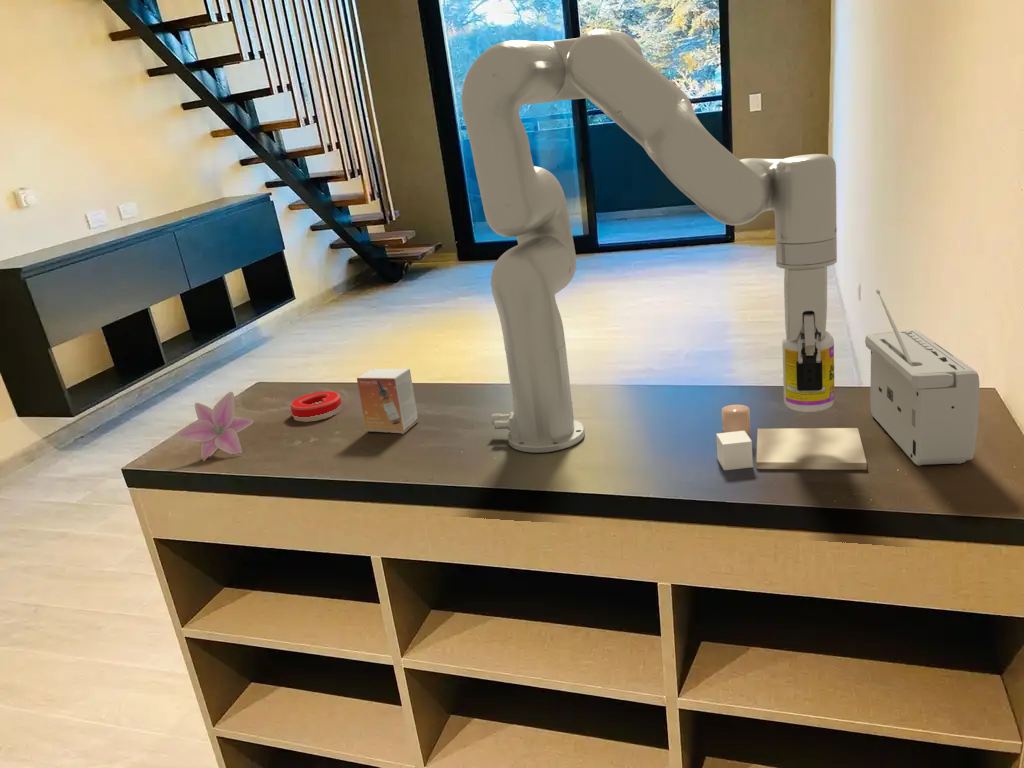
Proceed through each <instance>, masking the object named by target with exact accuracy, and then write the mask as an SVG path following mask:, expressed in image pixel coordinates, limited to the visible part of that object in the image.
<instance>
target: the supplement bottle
mask: <svg viewBox="0 0 1024 768" xmlns="http://www.w3.org/2000/svg"><path fill="white" fill-rule="evenodd" d="M813 315H814V312H813ZM803 323H804V318H803ZM800 335H801V334H800ZM801 339H805V338H804V336H801ZM815 339H816V335H815ZM797 341H798V338H797V340H793V341H792V343H789V342H788V341H787V340H786V334H785V335H784V336H783V338H782V341H781V343H782V345H781V346H782V374H783V375H782V381H783V382H782V383H783V403H784V405H785V406H786V407H787V408H788V409H791V410H793V411H798V412H805V413H806V412H807V413H810V412H820V411H824V410H827V409H829V408H831V407H832V406H833V405H834V403H835V340H834V337H833V335H832V334H831V333H830V332H828V331H827V330H826V333H825V339H824V340H822V341H820V360H821V361H822V387H823V388H822V390H819V391H798V390H797V370H796V362H798V344H797ZM803 347H805V345H802V348H803ZM815 347H816V346H815ZM802 358H803V354H802Z"/></svg>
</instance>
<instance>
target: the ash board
mask: <svg viewBox="0 0 1024 768" xmlns="http://www.w3.org/2000/svg"><path fill="white" fill-rule="evenodd" d="M756 437H757V438H756V439H757V440H756V460H755V461H756V469H757V470H839V471H840V470H842V471H843V470H846V471H847V470H849V471H851V470H854V471H855V470H857V471H861V470H862V471H865V470H868V468H867V467H868V466H867V458H866V455H865V451H864V447H863V443H862V439H861V436H860V432H859V428H858V427H818V428H817V427H815V428H811V427H810V428H809V427H808V428H807V427H806V428H799V427H798V428H794V427H793V428H787V427H785V428H784V427H783V428H757V435H756Z"/></svg>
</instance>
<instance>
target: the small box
mask: <svg viewBox="0 0 1024 768" xmlns="http://www.w3.org/2000/svg"><path fill="white" fill-rule="evenodd" d="M411 374H412V373H411V369H410V368H371V369H369V370H367V371H366V372H365V373H362V374H361V375H359V376H358V377H357V378H356V381H357V387H358V393H359V399H360V404H361V411H362V414H363V421H364V427H365V430H366V429H380V430H381V429H382V430H399V431H401V430H402V431H404V430H405V429H406V428H407V427H408V426H410V425H411V424H412V423H413V422H414V421H415V420H416V419H417V418H418V419H419V417H418V412H417V403H416V399H415V393H414V392H415V391H414V384H413V382H412V375H411Z"/></svg>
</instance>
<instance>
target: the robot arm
mask: <svg viewBox="0 0 1024 768" xmlns="http://www.w3.org/2000/svg"><path fill="white" fill-rule="evenodd" d="M581 99H588V100H589V102H591V103H592V104H593V105H594V106H595V107H597V109H599V110H600V111H601V112H603V113H604V114H605V115H606V116H607V117H608V118H609V119H610V120H612V121H613V122H614V123H615V124H616V125H617V126H619V127H620V129H622V130H623V131H624V132H626V133H627V134H628V135H629V136H630V137H631V138H632V139H634V141H635V142H636V143H638V144H639V145H640V146H641V148H643V149H644V151H645V152H646V154H647V155H648V157H649V158H650V159H651V160H652V161H653V162H654V164H655V165H657V167H658V168H659V169H660V170H661V172H662V173H663V174H664V175H665V176H666V178H667V179H668V180H669V181H670V182H671V183H672V184H673V185H674V186H675V187H676V188H677V189H678V190H679V191H680V192H682V193H683V195H685V196H686V197H687V198H688V199H690V200H691V201H692V202H693V203H694V204H695V205H697V206H698V207H699V208H700V209H701V210H702V211H703V212H705V213H706V214H707V215H708V216H710V217H711V218H712V219H714V220H716V221H718V222H720V223H721V224H724V225H729V226H742V225H745V224H748V223H750V222H752V221H753V220H755V219H756V218H757V217H759V215H761V214H763V213H764V212H769V211H773V212H774V232H775V233H774V234H775V236H774V237H775V263H776V264H775V265H776V267H777V268H779V269H783V270H784V275H783V293H784V294H783V295H784V321H785V322H784V325H785V328H784V329H785V335H786V340H787V341H788V342H789V343H792V341H793V340H797V338H798V341H797V344H798V362H796V370H797V390H798V391H819V390H822V388H823V387H822V361H821V360H820V341H822V340H824V339H825V333H826V331H827V315H828V267H829V266H833V265H835V264H836V263H837V262H838V260H837V259H838V257H837V255H838V253H837V252H838V251H837V249H838V248H837V245H838V243H837V242H838V241H837V240H838V239H837V238H838V237H837V232H838V231H837V229H838V227H837V165H836V161H835V159H834V157H832V155H829V154H825V153H811V154H810V153H809V154H802V155H801V154H800V155H794V156H789V157H785V158H757V157H754V158H752V157H751V158H748V157H747V158H742V159H739V158H737V157H736V155H734V154H733V153H732V152H731V151H729V149H727V148H726V147H725V146H724V145H723V144H721V143H720V142H719V140H717V139H716V138H715V137H714V136H713V135H712V134H711V133H710V132H709V131H708V130H707V129H706V128H705V126H704V125H703V124H702V123H701V121H700V119H699V118H698V117H697V114H696V112H695V110H694V107H693V104H692V102H691V100H690V98H689V97H688V96H687V94H686V93H685V92H684V91H683V90H681V89H680V87H678V86H677V85H676V84H675V83H673V81H671V80H670V79H669V78H668V77H666V76H665V75H664V74H663V73H661V72H660V71H659V70H658V69H657V68H656V67H654V66H653V65H652V64H651V63H650V62H649V61H647V60H646V59H645V57H644V54H643V51H642V49H641V47H640V45H639V44H638V42H637V41H636V40H635V39H634V38H633V37H632V36H630V34H628V33H625V32H622V31H618V30H613V29H612V30H611V29H604V28H598V29H592V30H590V31H587V32H585V33H582V34H581V35H580V36H579V37H576V38H568V39H558V40H550V41H549V40H548V41H547V40H546V41H535V40H534V41H533V40H531V41H530V40H526V39H525V40H523V39H516V40H515V39H511V40H505V41H502V42H499V43H496V44H494V45H491V46H490V47H489V48H487V49H486V50H485V51H483V52H482V53H481V54H480V55H479V56H478V57H476V59H475V60H474V62H473V63H472V64H471V66H470V68H469V70H468V71H467V73H466V76H465V79H464V81H463V86H462V90H461V109H462V115H463V119H464V124H465V129H466V131H467V135H468V139H469V143H470V149H471V154H472V160H473V165H474V170H475V174H476V179H477V180H476V181H477V184H478V189H479V194H480V198H481V203H482V207H483V213H484V216H485V220H486V222H487V224H488V226H489V228H490V229H491V230H492V231H493V232H494V233H496V234H497V235H499V236H501V237H506V238H515V237H516V241H517V245H515V246H513V247H511V248H509V249H507V250H506V251H505V252H503V254H501V255H500V256H499V257H498V259H497V260H496V262H495V263H494V265H493V268H492V271H491V276H490V287H491V289H490V290H491V294H492V296H493V300H494V303H495V306H496V307H495V308H496V310H497V312H498V316H499V317H498V318H499V321H500V326H501V327H500V328H501V331H502V337H503V344H504V351H505V357H506V365H507V370H508V371H507V372H508V378H509V379H508V380H509V386H510V387H509V388H510V394H511V402H512V409H513V411H510V412H509V413H492V414H491V416H490V417H491V418H490V419H491V421H490V422H491V424H492V425H493V429H494V430H504V429H507V430H508V431H509V432H508V434H507V443H508V445H509V446H510V447H511V448H513V449H515V450H517V451H520V452H525V453H532V454H533V453H534V454H535V453H540V454H541V453H550V452H556V451H560V450H565V449H567V448H570V447H572V446H574V445H576V444H578V443H579V442H581V440H583V438H584V437H585V434H586V432H585V426H584V424H583V423H581V421H579V420H577V419H575V417H574V408H573V401H572V399H573V398H572V391H571V384H570V383H571V382H570V373H569V364H568V363H569V362H568V355H567V353H568V352H567V346H566V340H565V337H566V336H565V332H564V331H565V330H564V325H563V324H564V323H563V320H562V317H561V313H560V311H559V308H558V304H557V302H556V301H557V300H556V294H558V293H559V292H560V291H562V290H563V289H564V288H566V287H567V286H568V285H569V284H570V282H571V281H572V280H573V278H574V276H575V273H576V269H577V254H576V249H575V243H574V237H573V231H572V226H571V221H570V215H569V211H568V205H567V199H566V196H565V193H564V189H563V188H562V185H561V184H560V181H559V180H558V179H557V178H556V176H555V175H554V174H553V173H552V172H551V171H549V170H547V169H546V168H544V167H540V166H536V165H534V162H533V158H532V157H533V156H532V153H531V146H530V141H529V137H528V133H527V130H526V128H525V126H524V123H523V122H522V119H521V116H520V109H521V107H523V106H525V105H535V104H545V103H550V102H551V103H552V102H553V103H554V102H561V101H570V100H581ZM813 312H814V315H813ZM803 318H804V323H803ZM800 334H801V335H800ZM815 335H816V339H815ZM801 336H804V338H805V339H801ZM802 345H805V347H803V348H802ZM815 346H816V347H815ZM802 354H803V358H802Z"/></svg>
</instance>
